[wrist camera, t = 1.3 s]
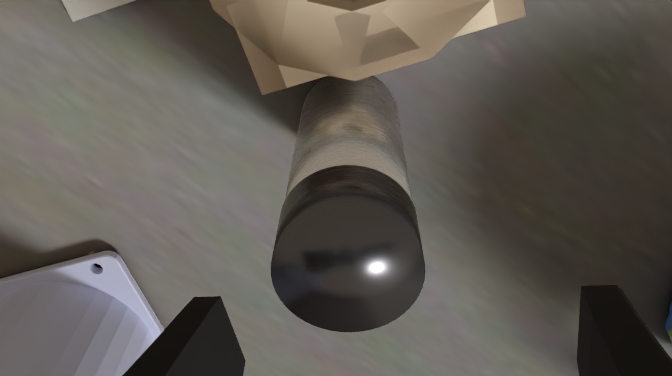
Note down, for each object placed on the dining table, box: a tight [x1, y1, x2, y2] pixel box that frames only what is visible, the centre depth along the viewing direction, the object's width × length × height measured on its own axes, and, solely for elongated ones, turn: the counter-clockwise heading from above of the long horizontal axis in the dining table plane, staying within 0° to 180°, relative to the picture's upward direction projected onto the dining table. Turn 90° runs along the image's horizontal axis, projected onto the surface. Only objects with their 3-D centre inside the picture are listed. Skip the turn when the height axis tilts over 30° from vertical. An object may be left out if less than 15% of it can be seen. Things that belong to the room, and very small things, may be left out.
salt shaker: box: [271, 76, 425, 332], centre depth 18 cm, size 4×4×9 cm
